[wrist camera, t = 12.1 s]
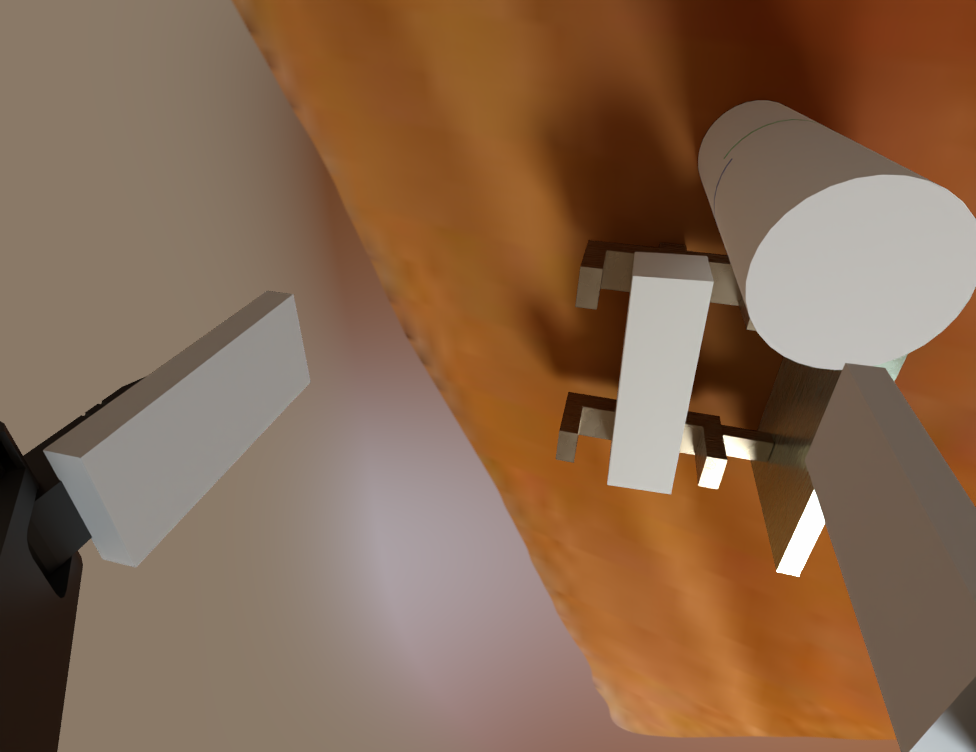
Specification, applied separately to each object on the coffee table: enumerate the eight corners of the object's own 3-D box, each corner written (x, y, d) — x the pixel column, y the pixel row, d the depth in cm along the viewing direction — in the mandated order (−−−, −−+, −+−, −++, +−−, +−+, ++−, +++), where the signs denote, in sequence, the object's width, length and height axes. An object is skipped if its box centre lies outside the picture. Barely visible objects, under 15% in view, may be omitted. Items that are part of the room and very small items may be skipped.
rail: (634, 251, 41) (633, 275, 37) (707, 256, 40) (713, 281, 36) (610, 447, 50) (607, 484, 46) (669, 455, 49) (670, 494, 45)
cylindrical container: (680, 187, 43) (709, 330, 22) (728, 85, 39) (817, 143, 18) (771, 218, 42) (889, 395, 21) (828, 119, 38) (1040, 218, 17)
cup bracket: (596, 197, 44) (576, 254, 33) (855, 222, 41) (936, 296, 29) (566, 422, 56) (543, 523, 44) (765, 456, 52) (798, 576, 41)
